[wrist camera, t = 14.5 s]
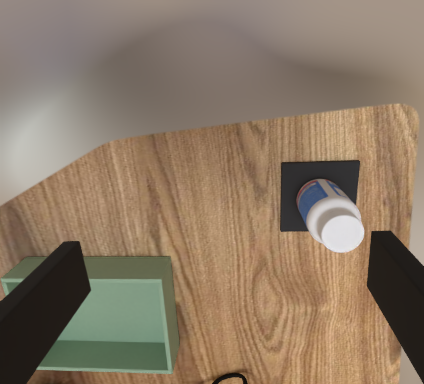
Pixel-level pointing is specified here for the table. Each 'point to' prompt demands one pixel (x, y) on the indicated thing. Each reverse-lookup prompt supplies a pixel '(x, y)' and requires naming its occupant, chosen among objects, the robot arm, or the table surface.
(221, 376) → the glasses
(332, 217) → the pill bottle
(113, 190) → the table surface
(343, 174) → the mat
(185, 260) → the table surface
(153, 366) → the tote
